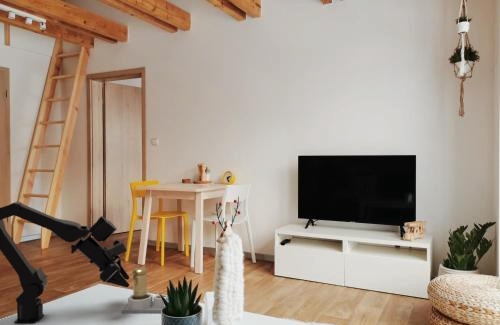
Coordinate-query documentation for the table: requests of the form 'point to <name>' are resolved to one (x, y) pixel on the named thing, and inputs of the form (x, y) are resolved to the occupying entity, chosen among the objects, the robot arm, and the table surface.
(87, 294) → the table surface
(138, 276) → the gold metal cylinder
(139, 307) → the manifold plate
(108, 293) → the table surface
